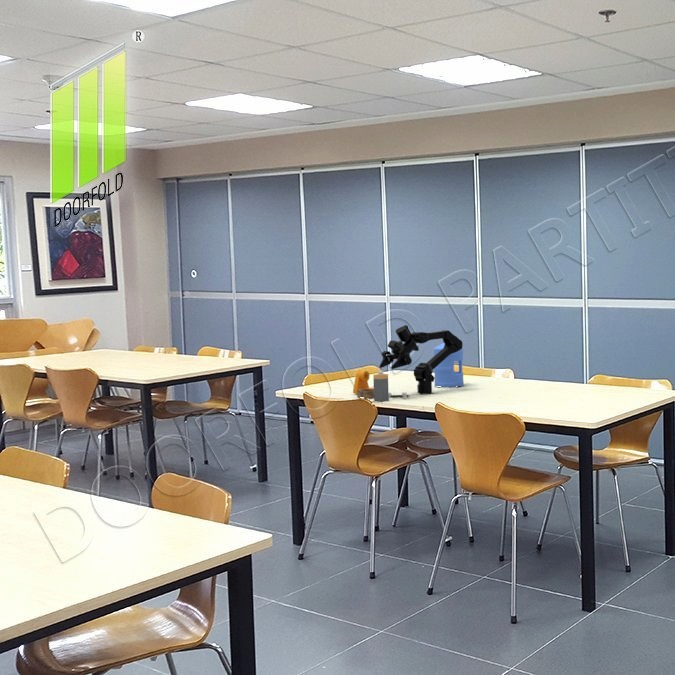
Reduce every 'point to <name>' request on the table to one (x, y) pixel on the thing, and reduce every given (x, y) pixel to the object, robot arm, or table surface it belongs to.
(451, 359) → the water jug
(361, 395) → the end cradle
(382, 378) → the grey tall block
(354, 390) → the orange rounded lump
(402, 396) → the cable run
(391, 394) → the cable clips
